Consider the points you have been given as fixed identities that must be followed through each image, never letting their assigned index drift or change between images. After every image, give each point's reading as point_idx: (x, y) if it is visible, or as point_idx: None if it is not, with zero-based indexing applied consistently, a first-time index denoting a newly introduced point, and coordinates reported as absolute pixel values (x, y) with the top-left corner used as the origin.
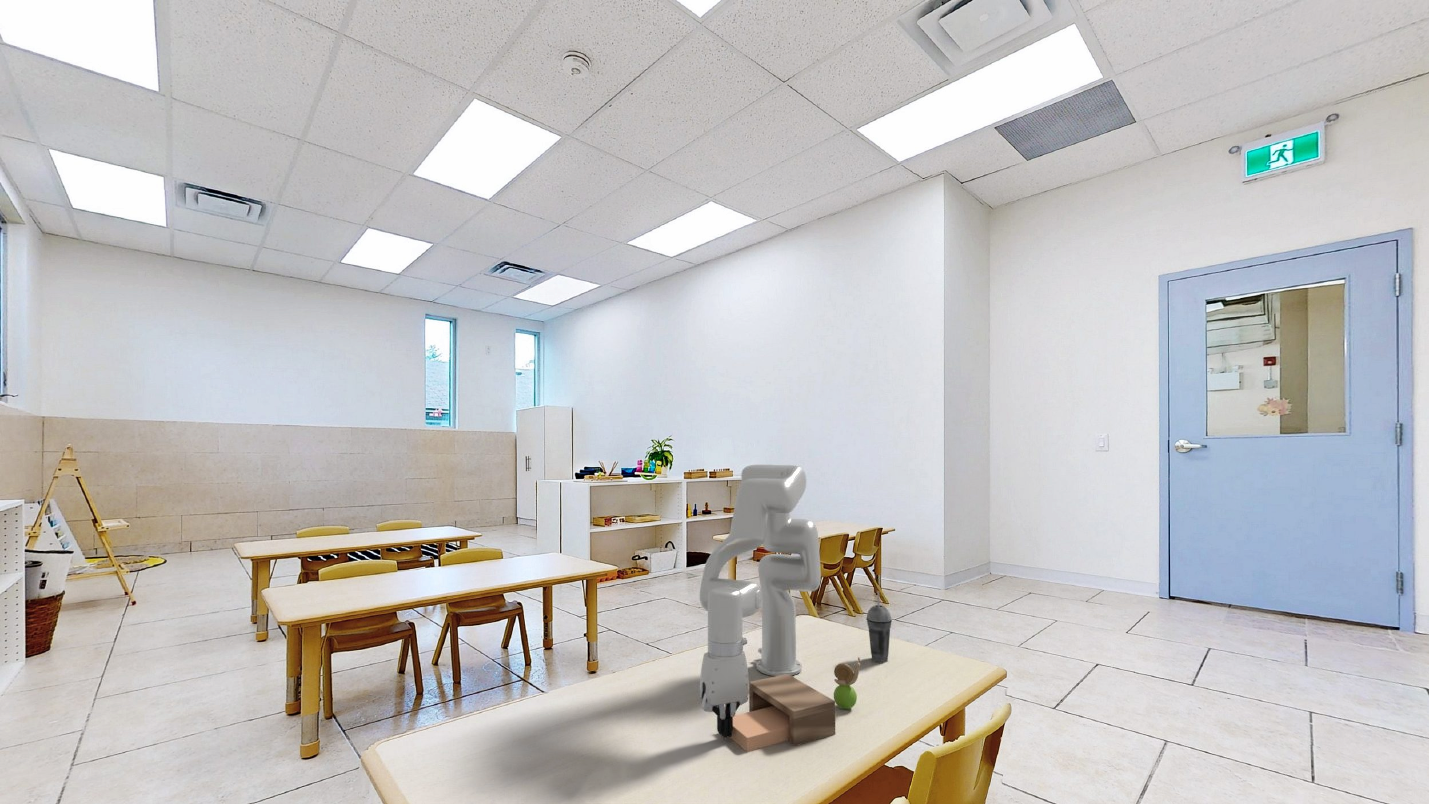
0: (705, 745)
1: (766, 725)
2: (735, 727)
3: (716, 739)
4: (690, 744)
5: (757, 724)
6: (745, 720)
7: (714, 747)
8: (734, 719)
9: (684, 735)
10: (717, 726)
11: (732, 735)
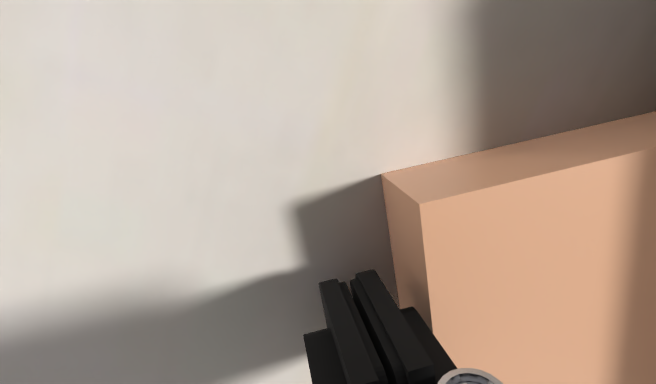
0: (198, 329)
1: (640, 372)
2: None
3: (295, 270)
4: (88, 298)
5: (601, 353)
6: (563, 280)
7: (252, 360)
8: (496, 247)
9: (51, 151)
10: (308, 356)
11: (405, 298)
